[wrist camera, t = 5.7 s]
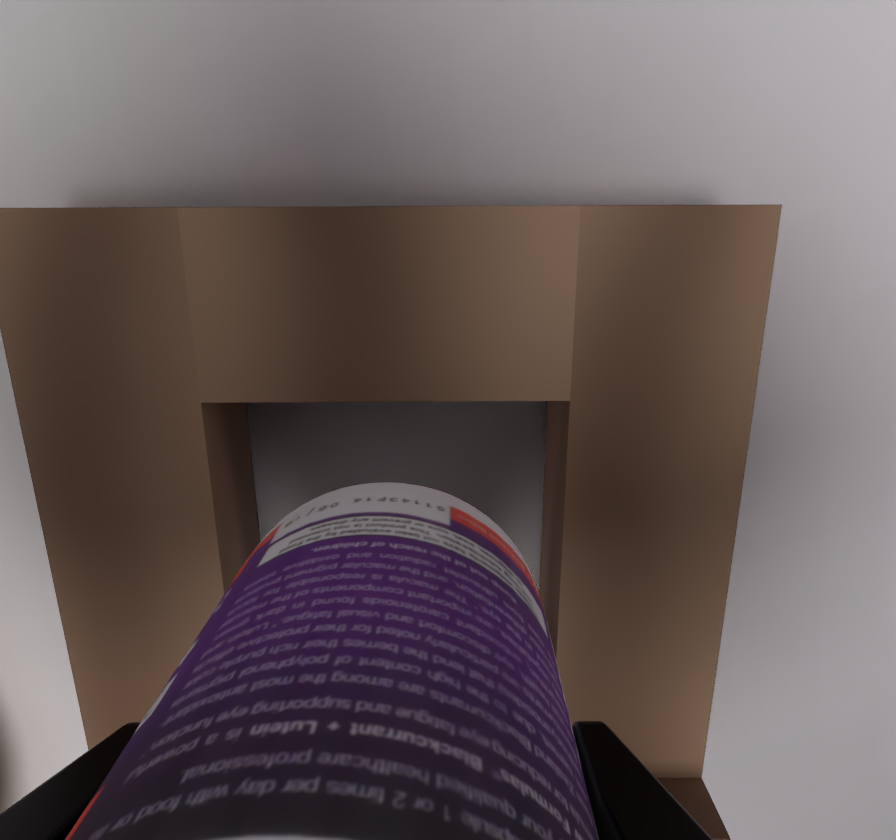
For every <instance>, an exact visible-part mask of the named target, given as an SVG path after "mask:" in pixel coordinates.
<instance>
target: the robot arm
mask: <svg viewBox="0 0 896 840" xmlns="http://www.w3.org/2000/svg"><path fill="white" fill-rule="evenodd" d="M140 723H141V722H131V723H127V724H125V725H124V726H122V727H121V728H119V729H118V730H116V731H115V732H114V733H112V734H111V735H109V736H108V737H107V738H105V739H104V740H103V741H101V742H100V743H98V744H97V745H96V746H94V747H93V748H91V749H90V750H89V751H87V752H86V753H85V754H83V755H82V756H80V757H79V758H78V759H76V760H75V761H73V762H72V763H71V764H69V765H68V766H66V767H65V768H64V769H62V770H61V771H60V772H58V773H57V774H55V775H54V776H53V777H51V778H50V779H48V780H47V781H46V782H44V783H43V784H42V785H40V786H39V787H37V788H36V789H35V790H33V791H32V792H30V793H29V794H28V795H26V796H25V797H23V798H22V799H21V800H19V801H18V802H17V803H15V804H14V805H12V806H11V807H10V808H8V809H7V810H5V811H4V812H3V813H1V814H0V840H65V839H66V837H67V836H68V834H69V833H70V831H71V830H72V828H73V827H74V825H75V824H76V822H77V821H78V819H79V818H80V816H81V815H82V813H83V812H84V810H85V809H86V807H87V805H88V804H89V802H90V801H91V799H92V798H93V796H94V795H95V793H96V792H97V790H98V789H99V787H100V786H101V784H102V783H103V781H104V780H105V778H106V777H107V775H108V773H109V772H110V770H111V769H112V767H113V766H114V764H115V762H116V761H117V759H118V758H119V756H120V755H121V753H122V752H123V750H124V748H125V747H126V745H127V744H128V742H129V741H130V739H131V738H132V736H133V734H134V733H135V731H136V729H137V727H138V726H139V725H140ZM572 730H573V734H574V738H575V742H576V747H577V751H578V755H579V759H580V764H581V768H582V772H583V777H584V781H585V785H586V789H587V793H588V797H589V801H590V805H591V809H592V813H593V817H594V821H595V825H596V829H597V834H598V838H599V840H713V839H712V838H711V837H710V836H709V835H708V834H707V833H706V832H705V830H704V829H703V828H702V827H701V826H700V825H699V824H698V823H697V822H696V821H695V820H694V819H693V817H692V816H691V815H690V814H689V813H688V812H687V811H686V810H685V809H684V808H683V807H682V806H681V805H680V803H679V802H678V801H677V800H676V799H675V798H674V797H673V796H672V795H671V794H670V793H669V792H668V790H667V789H666V788H665V787H664V786H663V785H662V784H661V783H660V782H659V781H658V780H657V779H656V777H655V776H654V775H653V774H652V773H651V772H650V771H649V770H648V769H647V768H646V767H645V766H644V765H643V763H642V762H641V761H640V760H639V759H638V758H637V757H636V756H635V755H634V754H633V753H632V752H631V750H630V749H629V748H628V747H627V746H626V745H625V744H624V743H623V742H622V741H621V740H620V739H619V738H618V736H617V735H616V734H615V733H614V732H613V731H612V730H611V729H610V728H609V727H608V726H607V725H606V724H605V723H603V722H601V721H576V722H574V723H573V725H572Z"/></svg>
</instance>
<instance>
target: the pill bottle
mask: <svg viewBox="0 0 896 840" xmlns="http://www.w3.org/2000/svg"><path fill="white" fill-rule="evenodd" d="M65 840H599V838H598V834H597V829H596V825H595V821H594V817H593V813H592V809H591V805H590V801H589V797H588V793H587V789H586V785H585V781H584V777H583V772H582V768H581V764H580V759H579V755H578V751H577V747H576V742H575V738H574V734H573V730H572V726H571V722H570V718H569V714H568V709H567V705H566V701H565V697H564V693H563V689H562V685H561V680H560V676H559V671H558V667H557V663H556V658H555V654H554V650H553V646H552V641H551V637H550V633H549V629H548V625H547V621H546V617H545V614H544V610H543V606H542V602H541V599H540V596H539V593H538V589H537V586H536V583H535V581H534V579H533V576H532V574H531V571H530V569H529V567H528V565H527V563H526V561H525V559H524V558H523V556H522V554H521V553H520V551H519V550H518V548H517V547H516V545H515V544H514V543H513V542H512V540H511V539H510V538H509V537H508V535H507V534H506V533H505V532H504V531H503V530H502V529H501V528H500V527H499V526H498V525H497V524H496V523H494V522H493V521H492V520H491V519H490V518H489V517H488V516H486V515H485V514H483V513H482V512H481V511H479V510H478V509H476V508H475V507H473V506H471V505H470V504H468V503H466V502H464V501H462V500H460V499H458V498H456V497H454V496H452V495H450V494H447V493H445V492H442V491H439V490H436V489H432V488H428V487H424V486H419V485H412V484H405V483H391V482H378V483H366V484H359V485H353V486H349V487H344V488H341V489H338V490H334V491H331V492H328V493H326V494H323V495H321V496H319V497H316V498H314V499H312V500H310V501H308V502H307V503H305V504H303V505H301V506H300V507H298V508H297V509H295V510H294V511H292V512H291V513H289V514H288V515H287V516H285V517H284V518H283V519H282V520H281V521H280V522H279V523H277V524H276V525H275V526H274V527H273V528H272V529H271V530H270V531H269V532H268V533H267V535H266V536H265V537H264V538H263V539H262V540H261V542H260V543H259V544H258V546H257V547H256V548H255V549H254V551H253V552H252V554H251V555H250V556H249V558H248V559H247V560H246V562H245V563H244V564H243V566H242V567H241V569H240V570H239V572H238V573H237V575H236V577H235V578H234V580H233V581H232V583H231V584H230V586H229V588H228V589H227V591H226V592H225V594H224V595H223V597H222V599H221V600H220V602H219V603H218V605H217V606H216V608H215V610H214V611H213V613H212V614H211V616H210V617H209V619H208V621H207V622H206V624H205V625H204V627H203V628H202V630H201V632H200V633H199V635H198V636H197V638H196V639H195V641H194V643H193V644H192V646H191V647H190V649H189V650H188V652H187V653H186V655H185V656H184V658H183V659H182V661H181V662H180V664H179V665H178V667H177V668H176V670H175V671H174V673H173V674H172V676H171V677H170V679H169V680H168V682H167V684H166V685H165V687H164V688H163V690H162V692H161V693H160V695H159V697H158V698H157V700H156V702H155V703H154V704H153V706H152V707H151V708H150V710H149V711H148V712H147V714H146V715H145V716H144V718H143V720H142V721H141V723H140V725H139V726H138V727H137V729H136V731H135V733H134V734H133V736H132V738H131V739H130V741H129V742H128V744H127V745H126V747H125V748H124V750H123V752H122V753H121V755H120V756H119V758H118V759H117V761H116V762H115V764H114V766H113V767H112V769H111V770H110V772H109V773H108V775H107V777H106V778H105V780H104V781H103V783H102V784H101V786H100V787H99V789H98V790H97V792H96V793H95V795H94V796H93V798H92V799H91V801H90V802H89V804H88V805H87V807H86V809H85V810H84V812H83V813H82V815H81V816H80V818H79V819H78V821H77V822H76V824H75V825H74V827H73V828H72V830H71V831H70V833H69V834H68V836H67V837H66V839H65Z"/></svg>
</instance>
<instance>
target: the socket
mask: <svg viewBox="0 0 896 840" xmlns="http://www.w3.org/2000/svg"><path fill="white" fill-rule="evenodd" d="M781 207H782V205H584V206H358V207H132V208H0V329H1V334H2V339H3V344H4V348H5V353H6V358H7V363H8V367H9V372H10V377H11V382H12V387H13V391H14V396H15V401H16V406H17V410H18V415H19V420H20V425H21V430H22V434H23V439H24V444H25V449H26V453H27V458H28V463H29V468H30V473H31V477H32V482H33V487H34V492H35V496H36V501H37V506H38V511H39V516H40V520H41V525H42V530H43V535H44V539H45V544H46V549H47V554H48V559H49V563H50V568H51V573H52V578H53V582H54V587H55V592H56V597H57V602H58V606H59V611H60V616H61V621H62V625H63V630H64V635H65V640H66V645H67V649H68V654H69V659H70V664H71V669H72V673H73V678H74V683H75V688H76V692H77V697H78V702H79V707H80V712H81V716H82V721H83V726H84V731H85V735H86V740H87V745H88V750H90V749H91V748H93V747H94V746H96V745H97V744H98V743H100V742H101V741H103V740H104V739H105V738H107V737H108V736H109V735H111V734H112V733H114V732H115V731H116V730H118V729H119V728H121V727H122V726H124V725H125V724H127V723H131V722H141V721H142V720H143V718H144V716H145V715H146V714H147V712H148V711H149V710H150V708H151V707H152V706H153V704H154V703H155V702H156V700H157V698H158V697H159V695H160V693H161V692H162V690H163V688H164V687H165V685H166V684H167V682H168V680H169V679H170V677H171V676H172V674H173V673H174V671H175V670H176V668H177V667H178V665H179V664H180V662H181V661H182V659H183V658H184V656H185V655H186V653H187V652H188V650H189V649H190V647H191V646H192V644H193V643H194V641H195V639H196V638H197V636H198V635H199V633H200V632H201V630H202V628H203V627H204V625H205V624H206V622H207V621H208V619H209V617H210V616H211V614H212V613H213V611H214V610H215V608H216V606H217V605H218V603H219V602H220V600H221V599H222V597H223V595H224V594H225V592H226V591H227V589H228V588H229V586H230V584H231V583H232V581H233V580H234V578H235V577H236V575H237V573H238V572H239V570H240V569H241V567H242V566H243V564H244V563H245V562H246V560H247V559H248V558H249V556H250V555H251V554H252V552H253V551H254V549H255V548H256V547H257V546H258V544H259V543H260V537H259V527H258V518H257V508H256V498H255V488H254V478H253V468H252V458H251V448H250V438H249V428H248V418H247V408H246V402H443V401H548V402H547V425H546V449H545V472H544V496H543V519H542V542H541V566H540V589H539V596H540V599H541V602H542V606H543V610H544V614H545V617H546V621H547V625H548V629H549V633H550V637H551V641H552V646H553V650H554V654H555V658H556V663H557V667H558V671H559V676H560V680H561V685H562V689H563V693H564V697H565V701H566V705H567V709H568V714H569V718H570V722H571V726H572V725H573V723H574V722H576V721H601V722H603V723H605V724H606V725H607V726H608V727H609V728H610V729H611V730H612V731H613V732H614V733H615V734H616V735H617V736H618V738H619V739H620V740H621V741H622V742H623V743H624V744H625V745H626V746H627V747H628V748H629V749H630V750H631V752H632V753H633V754H634V755H635V756H636V757H637V758H638V759H639V760H640V761H641V762H642V763H643V765H644V766H645V767H646V768H647V769H648V770H649V771H650V772H651V773H652V774H653V775H654V776H655V777H656V779H657V780H658V781H659V782H660V783H661V784H662V785H663V786H664V787H665V788H666V789H667V790H668V792H669V793H670V794H671V795H672V796H673V797H674V798H675V799H676V800H677V801H678V802H679V803H680V805H681V806H682V807H683V808H684V809H685V810H686V811H687V812H688V813H689V814H690V815H691V816H692V817H693V819H694V820H695V821H696V822H697V823H698V824H699V825H700V826H701V827H702V828H703V829H704V830H705V832H706V833H707V834H708V835H709V836H710V837H711V838H712V839H713V840H730V837H729V835H728V833H727V830H726V828H725V826H724V824H723V822H722V820H721V818H720V816H719V814H718V812H717V809H716V807H715V805H714V803H713V801H712V799H711V797H710V795H709V793H708V791H707V789H706V786H705V784H704V782H703V780H702V778H701V776H702V769H703V762H704V755H705V748H706V741H707V734H708V727H709V720H710V712H711V705H712V698H713V691H714V684H715V677H716V670H717V663H718V656H719V648H720V641H721V634H722V627H723V620H724V613H725V606H726V599H727V592H728V584H729V577H730V570H731V563H732V556H733V549H734V542H735V535H736V528H737V520H738V513H739V506H740V499H741V492H742V485H743V478H744V471H745V464H746V456H747V449H748V442H749V435H750V428H751V421H752V414H753V407H754V400H755V392H756V385H757V378H758V371H759V364H760V357H761V350H762V343H763V335H764V328H765V321H766V314H767V307H768V300H769V293H770V286H771V279H772V271H773V264H774V257H775V250H776V243H777V236H778V229H779V222H780V215H781Z"/></svg>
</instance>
